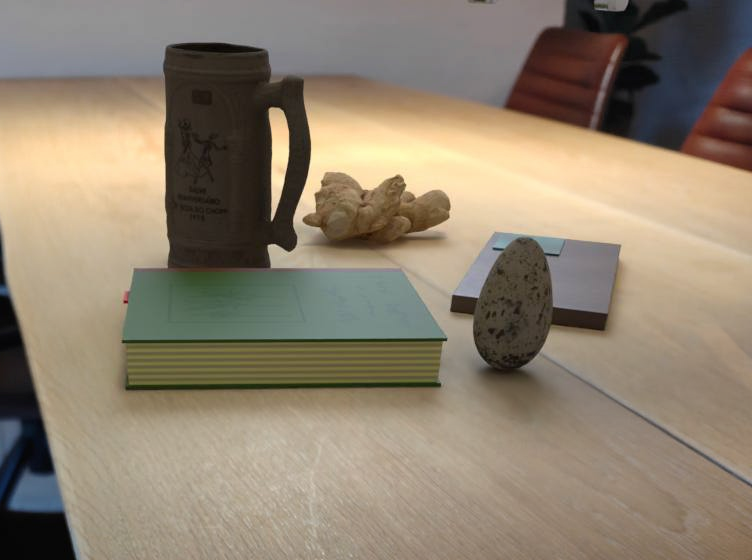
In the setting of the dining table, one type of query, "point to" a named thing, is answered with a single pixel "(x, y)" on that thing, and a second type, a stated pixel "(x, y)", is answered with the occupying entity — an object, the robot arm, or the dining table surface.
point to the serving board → (555, 278)
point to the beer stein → (228, 156)
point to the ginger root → (374, 209)
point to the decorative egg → (514, 306)
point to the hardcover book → (278, 329)
